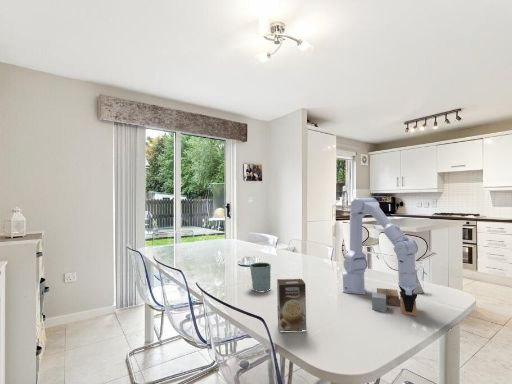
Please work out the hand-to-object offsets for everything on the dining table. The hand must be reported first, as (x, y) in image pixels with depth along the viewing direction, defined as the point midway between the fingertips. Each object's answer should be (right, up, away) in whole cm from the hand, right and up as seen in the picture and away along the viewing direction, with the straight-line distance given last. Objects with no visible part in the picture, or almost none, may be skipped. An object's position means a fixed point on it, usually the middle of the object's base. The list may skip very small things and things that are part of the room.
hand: (408, 307), depth 106 cm
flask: (+14, -2, +21) cm, 25 cm away
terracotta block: (0, -2, 0) cm, 2 cm away
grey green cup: (-55, -4, +31) cm, 63 cm away
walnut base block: (-3, -2, +11) cm, 12 cm away
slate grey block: (-9, -2, +4) cm, 10 cm away
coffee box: (-45, -3, -10) cm, 46 cm away
